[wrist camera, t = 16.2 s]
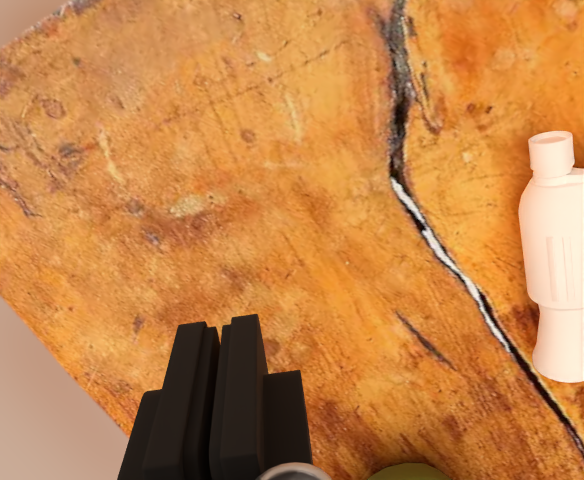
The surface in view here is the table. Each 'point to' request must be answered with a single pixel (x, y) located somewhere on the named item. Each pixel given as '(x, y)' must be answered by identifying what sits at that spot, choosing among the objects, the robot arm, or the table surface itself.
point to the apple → (409, 473)
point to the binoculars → (555, 254)
